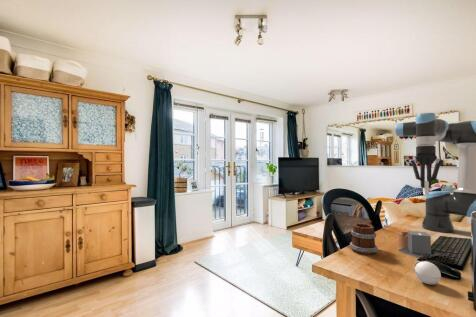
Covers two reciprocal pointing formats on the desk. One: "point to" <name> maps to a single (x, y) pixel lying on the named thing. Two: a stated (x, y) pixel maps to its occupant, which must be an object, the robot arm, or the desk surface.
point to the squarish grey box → (419, 242)
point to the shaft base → (407, 251)
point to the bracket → (403, 239)
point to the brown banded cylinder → (363, 238)
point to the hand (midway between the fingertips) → (425, 194)
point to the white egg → (427, 273)
